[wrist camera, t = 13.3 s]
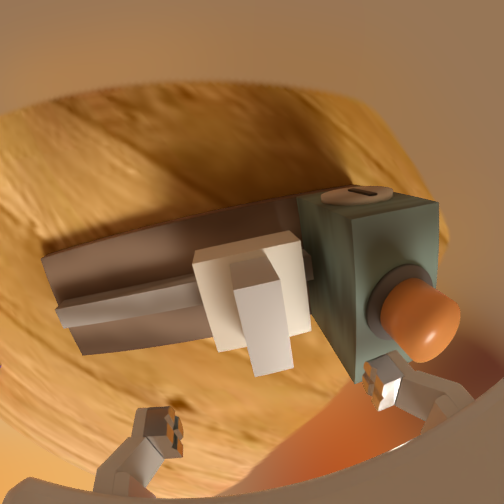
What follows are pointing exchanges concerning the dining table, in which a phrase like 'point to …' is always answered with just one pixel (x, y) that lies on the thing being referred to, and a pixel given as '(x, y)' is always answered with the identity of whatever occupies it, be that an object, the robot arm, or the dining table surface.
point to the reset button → (420, 319)
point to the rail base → (241, 228)
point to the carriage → (255, 297)
